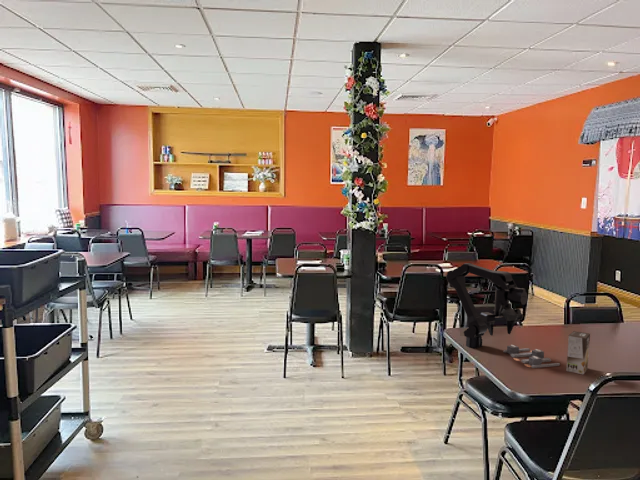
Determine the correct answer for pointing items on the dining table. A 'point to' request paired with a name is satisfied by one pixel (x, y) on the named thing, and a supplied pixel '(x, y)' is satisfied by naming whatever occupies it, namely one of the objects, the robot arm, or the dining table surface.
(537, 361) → the tab
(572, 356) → the coffee box
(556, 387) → the dining table surface
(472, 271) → the robot arm
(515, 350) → the tab
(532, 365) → the switch board
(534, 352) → the tab
